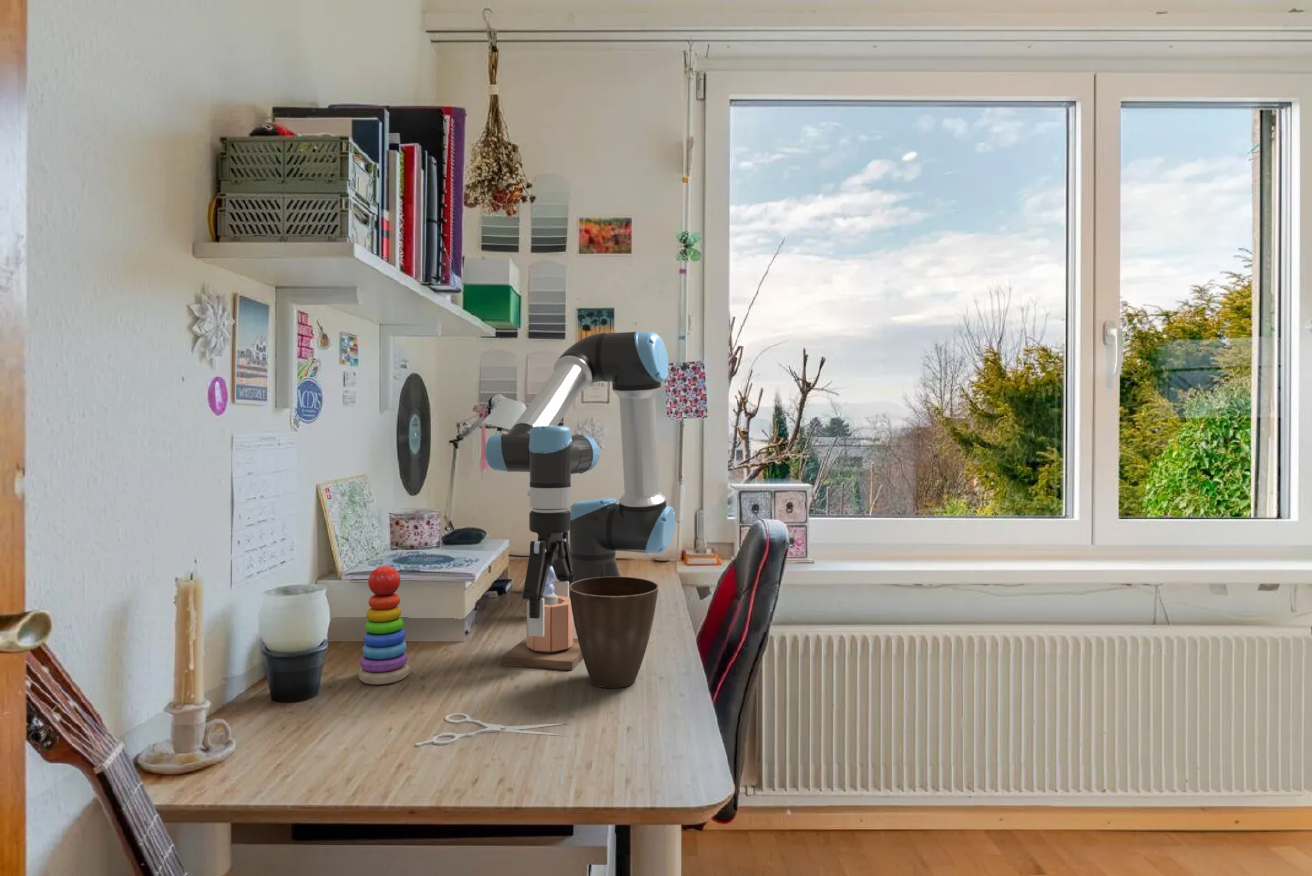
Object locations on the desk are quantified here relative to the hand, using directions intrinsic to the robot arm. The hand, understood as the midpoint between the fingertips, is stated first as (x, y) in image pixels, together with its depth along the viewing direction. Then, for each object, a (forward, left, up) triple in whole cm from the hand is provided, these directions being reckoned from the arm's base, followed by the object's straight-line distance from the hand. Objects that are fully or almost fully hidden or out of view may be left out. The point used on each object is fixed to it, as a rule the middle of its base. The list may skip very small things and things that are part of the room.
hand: (549, 624), depth 135 cm
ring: (0, 0, -4) cm, 4 cm away
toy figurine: (-25, -10, -6) cm, 28 cm away
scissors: (+32, +4, -6) cm, 33 cm away
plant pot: (+10, +15, -6) cm, 18 cm away
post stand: (0, 0, -6) cm, 6 cm away
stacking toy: (+17, -23, -6) cm, 29 cm away
